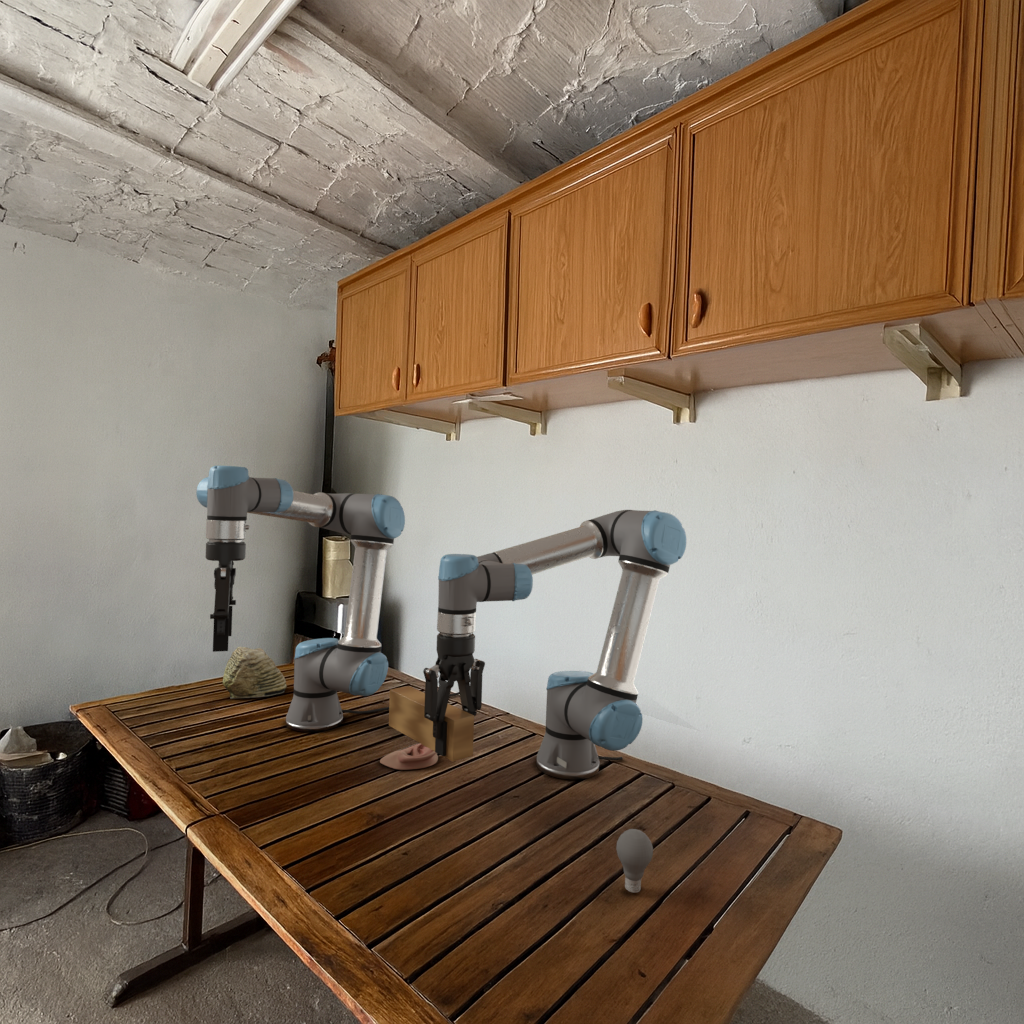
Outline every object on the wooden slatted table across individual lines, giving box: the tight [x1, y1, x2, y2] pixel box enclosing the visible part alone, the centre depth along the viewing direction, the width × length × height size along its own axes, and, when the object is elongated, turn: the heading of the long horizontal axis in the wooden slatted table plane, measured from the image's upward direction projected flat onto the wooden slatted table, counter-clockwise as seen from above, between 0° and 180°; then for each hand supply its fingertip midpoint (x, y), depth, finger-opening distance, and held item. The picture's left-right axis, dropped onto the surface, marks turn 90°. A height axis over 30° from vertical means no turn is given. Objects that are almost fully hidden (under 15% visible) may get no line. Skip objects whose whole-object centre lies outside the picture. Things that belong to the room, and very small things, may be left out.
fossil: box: [222, 646, 288, 699], centre depth 198 cm, size 9×18×15 cm, turn 132°
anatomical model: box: [379, 742, 439, 771], centre depth 154 cm, size 13×4×12 cm
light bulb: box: [615, 828, 654, 894], centre depth 106 cm, size 6×6×10 cm
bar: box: [388, 685, 475, 762], centre depth 131 cm, size 24×5×8 cm, turn 42°
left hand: (222, 643), depth 131 cm, fingers open, 13 cm apart
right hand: (452, 750), depth 125 cm, fingers closed on bar, 5 cm apart
